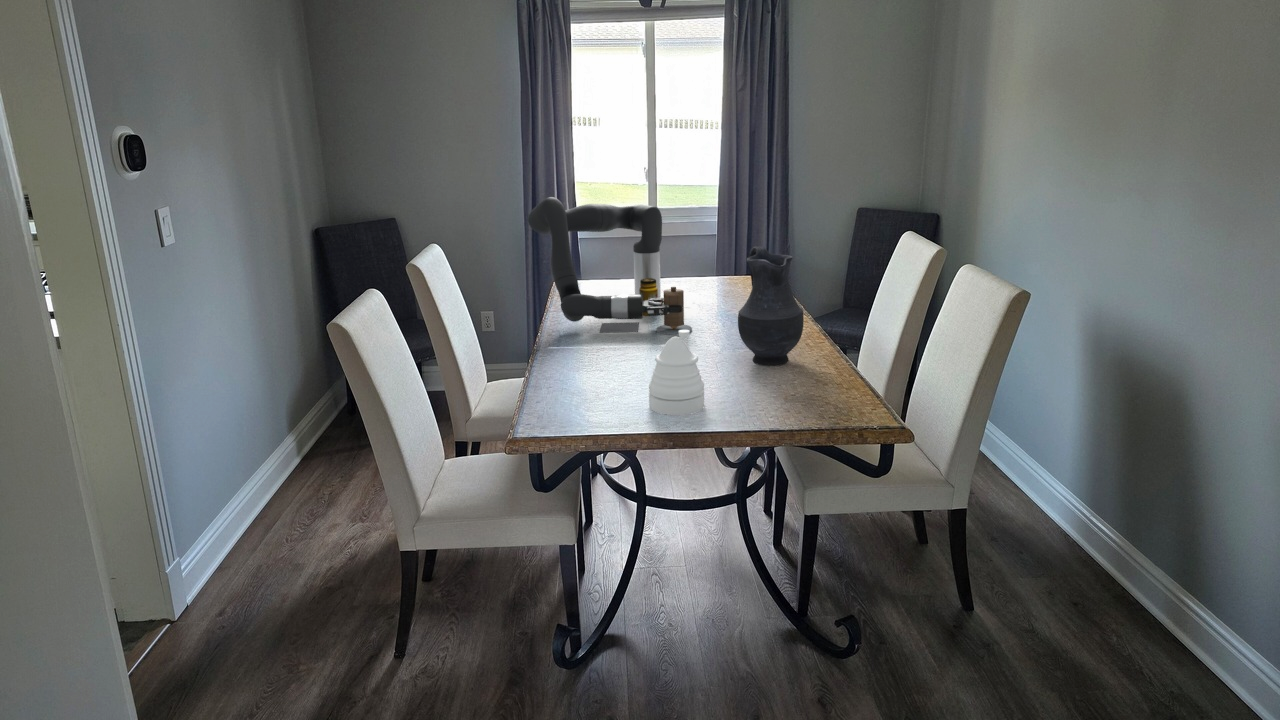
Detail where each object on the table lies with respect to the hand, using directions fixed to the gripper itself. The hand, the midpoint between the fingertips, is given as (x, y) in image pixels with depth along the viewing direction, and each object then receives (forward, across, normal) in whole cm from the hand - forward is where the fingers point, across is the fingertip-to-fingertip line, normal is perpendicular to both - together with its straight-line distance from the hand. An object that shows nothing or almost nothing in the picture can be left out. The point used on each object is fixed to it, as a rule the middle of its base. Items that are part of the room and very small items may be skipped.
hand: (681, 306), depth 258 cm
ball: (-2, 0, +6) cm, 6 cm away
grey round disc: (-2, 0, +8) cm, 8 cm away
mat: (-19, +4, +8) cm, 21 cm away
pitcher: (+23, -31, +8) cm, 39 cm away
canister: (-2, 0, +6) cm, 6 cm away
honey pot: (-2, -66, +8) cm, 67 cm away
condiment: (-11, +21, +8) cm, 25 cm away
